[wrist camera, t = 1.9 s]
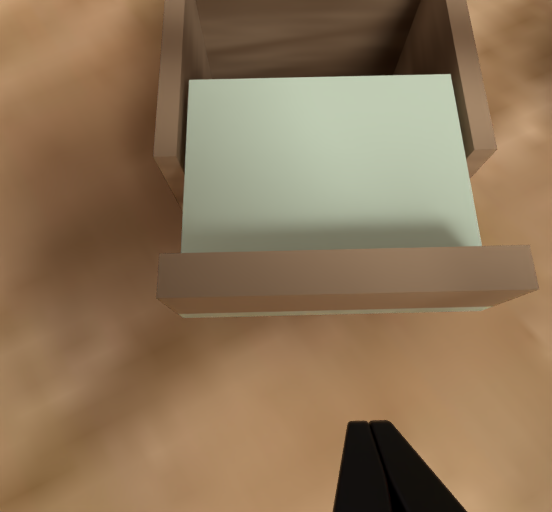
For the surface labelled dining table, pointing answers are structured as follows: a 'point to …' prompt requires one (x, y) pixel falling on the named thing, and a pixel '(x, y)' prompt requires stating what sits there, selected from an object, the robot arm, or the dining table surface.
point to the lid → (331, 203)
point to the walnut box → (315, 57)
